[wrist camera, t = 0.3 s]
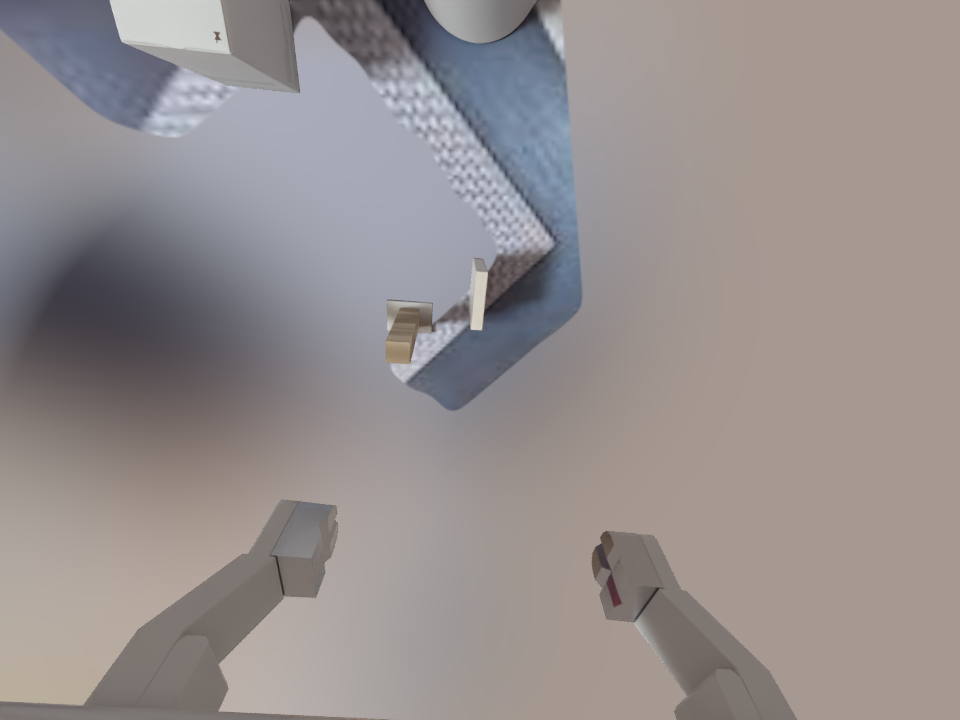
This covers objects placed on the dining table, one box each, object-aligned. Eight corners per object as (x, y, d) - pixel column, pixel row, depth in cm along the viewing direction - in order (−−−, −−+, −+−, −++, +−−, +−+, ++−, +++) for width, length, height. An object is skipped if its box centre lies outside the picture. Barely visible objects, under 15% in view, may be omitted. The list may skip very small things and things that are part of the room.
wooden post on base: (387, 299, 56) (368, 332, 44) (432, 302, 56) (426, 336, 44) (388, 329, 58) (370, 368, 46) (431, 332, 59) (425, 371, 46)
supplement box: (290, -4, 40) (207, -98, 26) (301, 94, 44) (234, 57, 30) (203, -16, 39) (72, -119, 25) (223, 86, 43) (117, 43, 29)
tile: (473, 257, 54) (476, 271, 46) (483, 258, 54) (488, 272, 46) (468, 308, 57) (471, 329, 49) (478, 309, 57) (482, 330, 49)
